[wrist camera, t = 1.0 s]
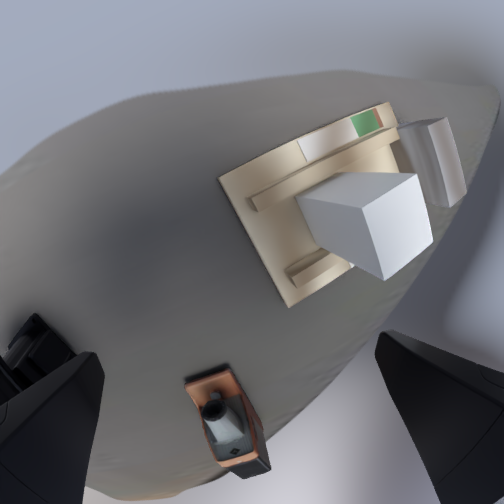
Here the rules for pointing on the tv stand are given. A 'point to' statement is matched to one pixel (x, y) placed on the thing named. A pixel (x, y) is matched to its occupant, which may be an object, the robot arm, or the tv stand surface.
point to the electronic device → (230, 424)
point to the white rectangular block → (369, 219)
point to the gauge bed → (322, 167)
